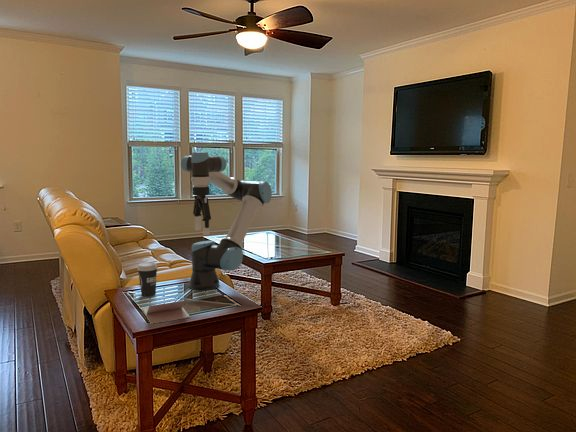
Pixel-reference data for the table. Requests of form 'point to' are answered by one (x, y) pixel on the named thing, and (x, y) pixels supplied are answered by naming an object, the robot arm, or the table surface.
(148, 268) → the coffee cup
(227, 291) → the table surface
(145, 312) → the mat
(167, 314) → the greeting card
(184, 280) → the table surface
